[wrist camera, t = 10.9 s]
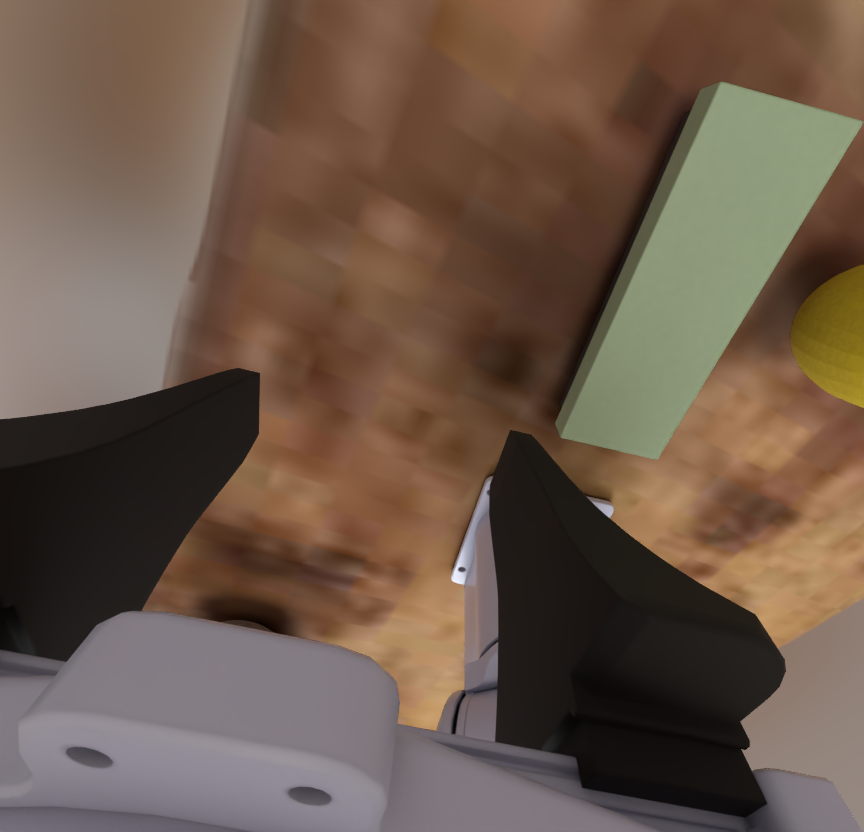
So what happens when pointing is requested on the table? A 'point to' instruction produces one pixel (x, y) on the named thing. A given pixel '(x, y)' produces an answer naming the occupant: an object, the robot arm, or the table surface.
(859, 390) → the lemon
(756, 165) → the green block
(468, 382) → the table surface
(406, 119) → the table surface
